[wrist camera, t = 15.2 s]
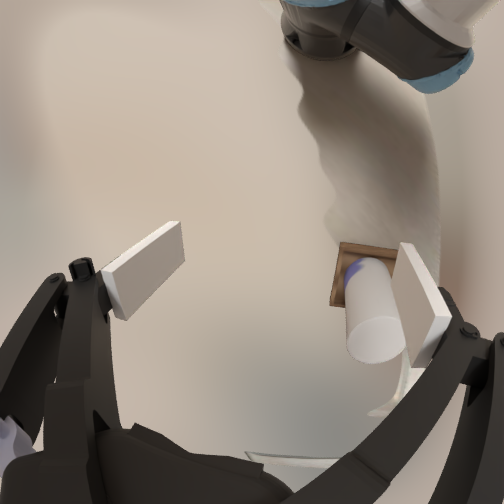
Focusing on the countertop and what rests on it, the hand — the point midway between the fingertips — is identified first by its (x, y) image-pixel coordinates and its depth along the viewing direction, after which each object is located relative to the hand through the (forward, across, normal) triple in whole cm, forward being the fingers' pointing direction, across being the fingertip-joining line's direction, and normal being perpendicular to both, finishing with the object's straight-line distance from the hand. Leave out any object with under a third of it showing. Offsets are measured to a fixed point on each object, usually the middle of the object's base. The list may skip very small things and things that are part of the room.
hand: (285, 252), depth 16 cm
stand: (+38, +13, -22) cm, 46 cm away
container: (+37, +13, -22) cm, 45 cm away
